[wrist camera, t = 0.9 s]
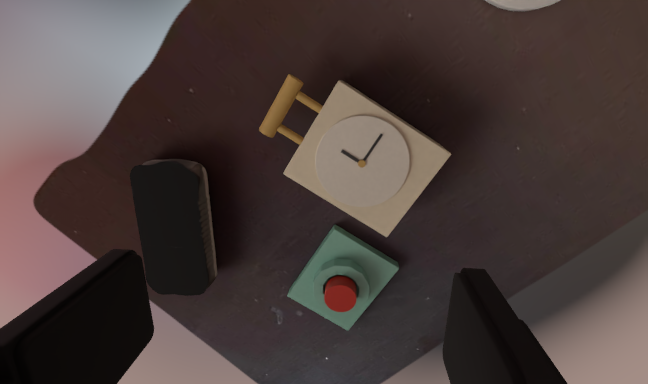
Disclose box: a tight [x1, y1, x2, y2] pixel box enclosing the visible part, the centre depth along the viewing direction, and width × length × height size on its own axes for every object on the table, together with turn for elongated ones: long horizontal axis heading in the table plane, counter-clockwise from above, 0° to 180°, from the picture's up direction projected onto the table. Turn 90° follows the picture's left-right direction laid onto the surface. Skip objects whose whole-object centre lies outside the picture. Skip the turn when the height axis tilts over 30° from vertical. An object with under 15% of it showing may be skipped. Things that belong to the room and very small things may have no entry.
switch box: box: [287, 225, 399, 331], centre depth 41 cm, size 11×9×3 cm
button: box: [324, 275, 356, 312], centre depth 39 cm, size 4×4×2 cm
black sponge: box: [130, 159, 217, 295], centre depth 40 cm, size 16×8×4 cm, turn 179°
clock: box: [259, 74, 451, 237], centre depth 34 cm, size 10×16×6 cm, turn 58°
